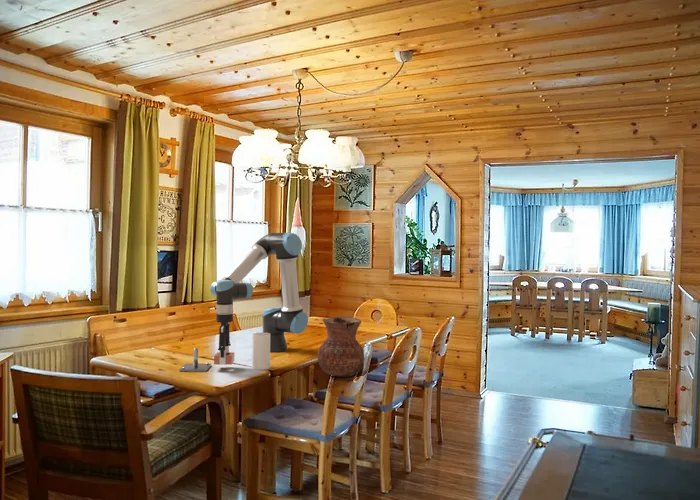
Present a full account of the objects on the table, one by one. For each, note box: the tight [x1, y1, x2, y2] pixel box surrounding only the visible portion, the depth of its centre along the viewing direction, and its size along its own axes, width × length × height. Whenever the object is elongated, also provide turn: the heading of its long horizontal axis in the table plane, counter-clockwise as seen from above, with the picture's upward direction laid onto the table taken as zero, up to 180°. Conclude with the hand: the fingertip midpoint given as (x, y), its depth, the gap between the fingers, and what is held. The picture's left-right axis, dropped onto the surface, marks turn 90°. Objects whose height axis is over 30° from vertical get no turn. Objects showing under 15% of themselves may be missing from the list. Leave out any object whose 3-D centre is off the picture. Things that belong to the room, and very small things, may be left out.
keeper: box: [178, 347, 212, 373], centre depth 253 cm, size 12×12×10 cm
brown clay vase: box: [317, 316, 365, 378], centre depth 248 cm, size 22×21×25 cm
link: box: [213, 351, 235, 366], centre depth 254 cm, size 8×8×4 cm
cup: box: [251, 332, 271, 371], centre depth 257 cm, size 8×8×16 cm
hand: (224, 362), depth 254 cm, fingers closed on link, 8 cm apart
